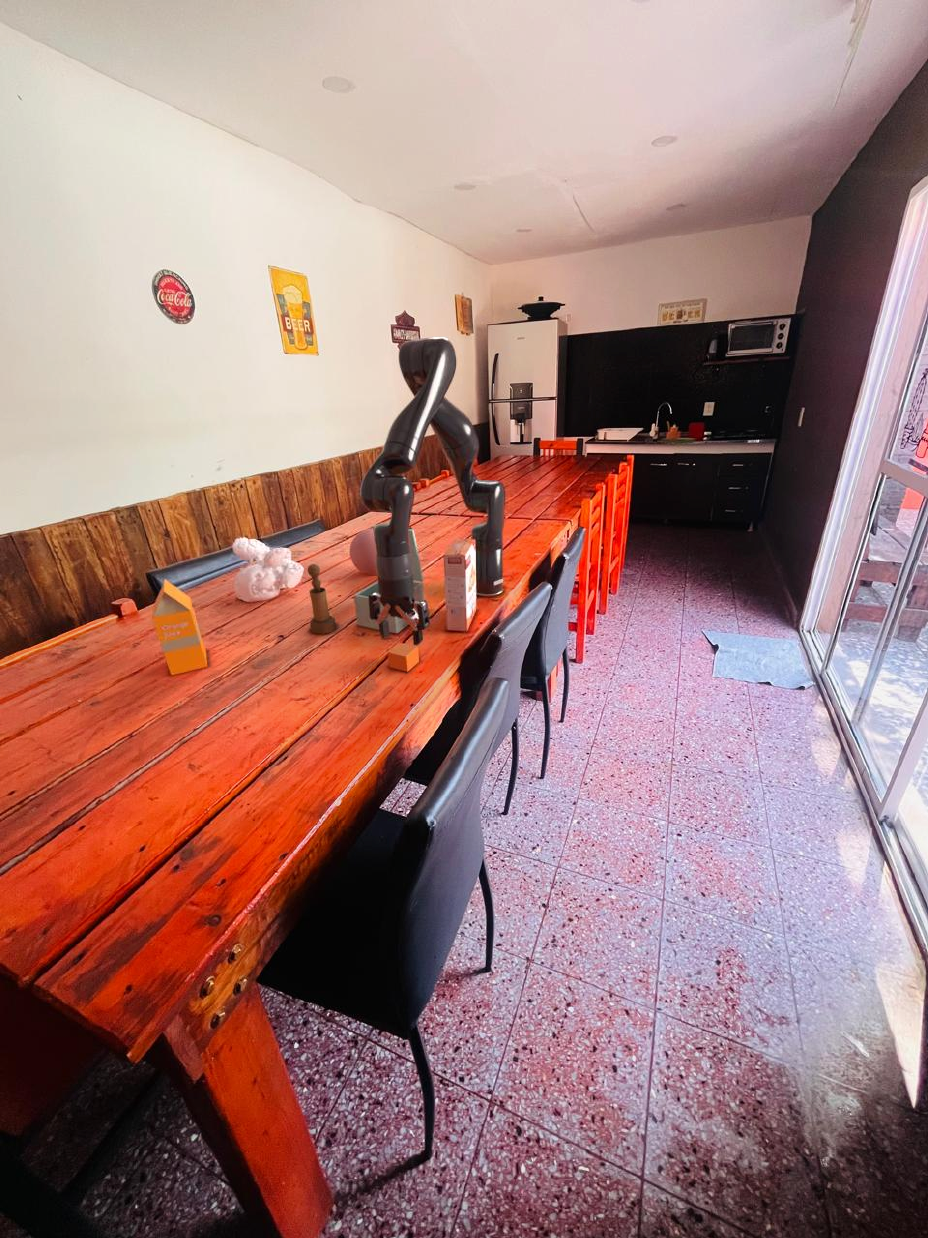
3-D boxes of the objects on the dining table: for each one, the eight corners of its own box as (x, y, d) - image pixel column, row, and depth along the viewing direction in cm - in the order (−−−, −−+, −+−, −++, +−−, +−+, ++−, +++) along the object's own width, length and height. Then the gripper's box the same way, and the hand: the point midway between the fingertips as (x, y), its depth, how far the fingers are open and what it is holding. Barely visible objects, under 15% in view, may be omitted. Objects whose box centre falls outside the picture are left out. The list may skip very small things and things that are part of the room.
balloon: (402, 560, 180) (398, 519, 173) (395, 580, 162) (390, 535, 155) (359, 562, 180) (354, 520, 173) (348, 582, 162) (341, 537, 155)
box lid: (412, 530, 126) (421, 522, 129) (372, 526, 131) (382, 518, 135) (422, 581, 135) (431, 572, 138) (384, 575, 140) (393, 567, 144)
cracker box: (468, 632, 127) (466, 555, 118) (445, 631, 128) (441, 554, 119) (478, 610, 139) (476, 538, 130) (457, 608, 140) (454, 537, 131)
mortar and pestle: (341, 625, 133) (331, 562, 125) (326, 636, 128) (314, 570, 120) (322, 621, 136) (311, 559, 128) (306, 631, 130) (293, 567, 123)
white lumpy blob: (205, 576, 145) (244, 526, 154) (245, 613, 161) (278, 566, 170) (251, 588, 138) (289, 535, 146) (288, 626, 154) (321, 576, 162)
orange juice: (170, 675, 113) (143, 595, 104) (171, 658, 120) (145, 582, 111) (208, 666, 116) (184, 587, 107) (206, 650, 123) (184, 575, 114)
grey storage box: (396, 633, 128) (393, 602, 124) (357, 625, 133) (353, 595, 129) (425, 611, 139) (423, 582, 135) (388, 604, 145) (385, 576, 141)
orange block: (401, 657, 117) (399, 642, 115) (419, 661, 115) (417, 646, 113) (389, 667, 113) (387, 652, 111) (407, 672, 111) (406, 656, 109)
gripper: (433, 571, 104) (437, 639, 111) (377, 562, 110) (384, 627, 117) (414, 583, 98) (419, 654, 105) (356, 573, 104) (365, 641, 111)
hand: (401, 640), depth 111 cm, fingers open, 8 cm apart
